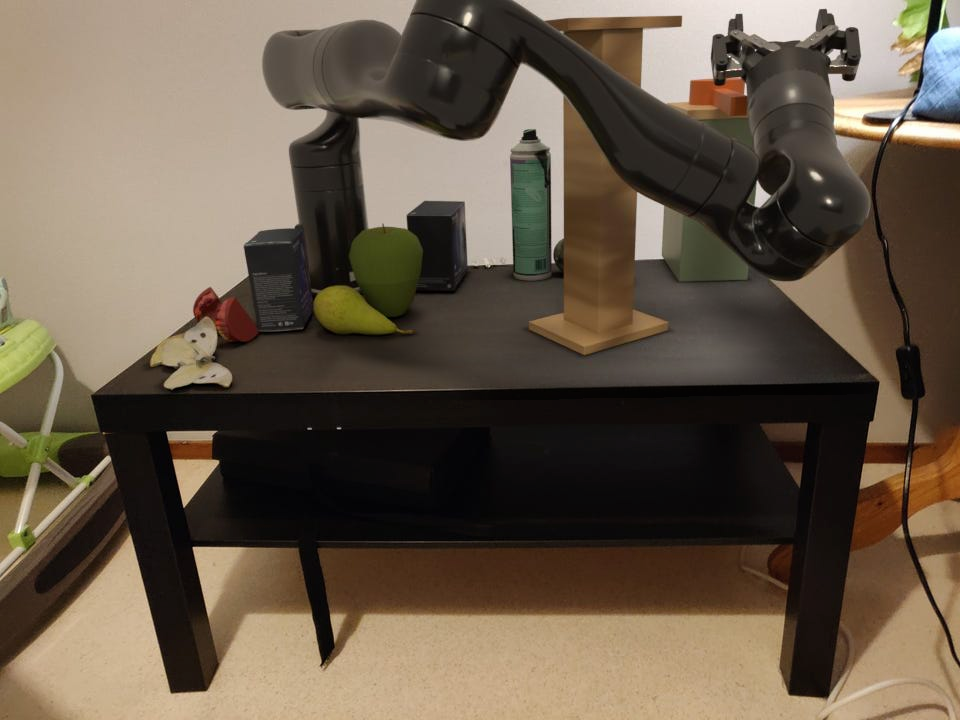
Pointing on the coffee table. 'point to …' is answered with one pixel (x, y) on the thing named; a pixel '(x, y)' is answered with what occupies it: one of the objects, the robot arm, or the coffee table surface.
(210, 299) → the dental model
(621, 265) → the stand
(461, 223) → the small box
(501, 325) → the coffee table surface
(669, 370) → the coffee table surface
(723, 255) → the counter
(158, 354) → the pale yellow butterfly wing
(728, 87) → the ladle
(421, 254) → the apple
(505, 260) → the miniature set
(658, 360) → the coffee table surface
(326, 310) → the fruit
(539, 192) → the spray can
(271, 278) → the box
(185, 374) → the butterfly
